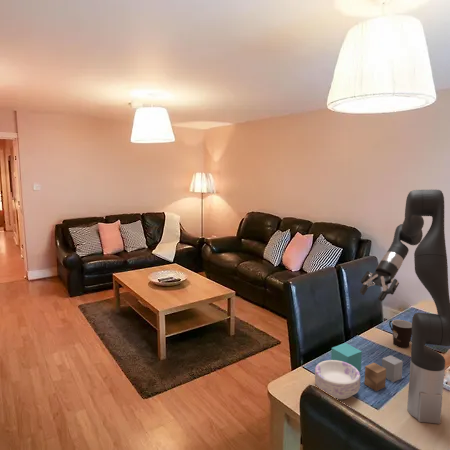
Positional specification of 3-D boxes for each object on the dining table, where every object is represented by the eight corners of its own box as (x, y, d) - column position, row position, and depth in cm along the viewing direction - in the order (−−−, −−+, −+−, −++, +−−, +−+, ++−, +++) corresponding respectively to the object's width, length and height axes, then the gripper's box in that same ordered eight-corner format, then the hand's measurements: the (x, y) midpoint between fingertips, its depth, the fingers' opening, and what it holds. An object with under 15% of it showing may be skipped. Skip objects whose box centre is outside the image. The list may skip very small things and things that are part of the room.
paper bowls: (306, 384, 125) (306, 364, 123) (339, 375, 130) (340, 355, 129) (333, 410, 111) (333, 387, 109) (369, 399, 116) (370, 377, 115)
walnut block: (385, 386, 122) (386, 368, 121) (376, 391, 120) (377, 373, 119) (373, 379, 127) (374, 362, 126) (364, 384, 124) (365, 366, 123)
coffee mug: (414, 350, 148) (416, 328, 146) (393, 348, 149) (394, 327, 148) (406, 337, 159) (407, 317, 158) (386, 336, 161) (387, 316, 159)
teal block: (360, 370, 133) (361, 351, 132) (347, 376, 129) (347, 356, 128) (344, 360, 140) (345, 342, 139) (330, 366, 136) (331, 347, 135)
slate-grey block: (401, 378, 128) (402, 361, 127) (393, 382, 125) (394, 364, 124) (389, 371, 132) (390, 355, 131) (381, 375, 129) (382, 358, 128)
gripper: (370, 256, 145) (351, 287, 141) (402, 263, 133) (382, 297, 129) (378, 266, 149) (359, 296, 145) (409, 274, 136) (390, 307, 133)
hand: (370, 297), depth 137 cm, fingers open, 8 cm apart
